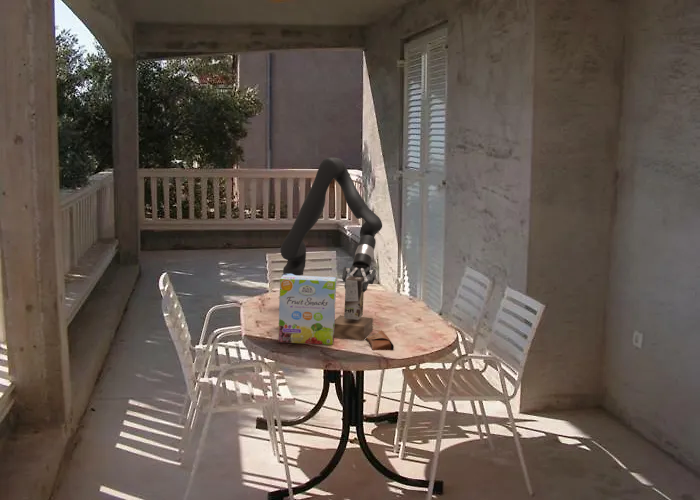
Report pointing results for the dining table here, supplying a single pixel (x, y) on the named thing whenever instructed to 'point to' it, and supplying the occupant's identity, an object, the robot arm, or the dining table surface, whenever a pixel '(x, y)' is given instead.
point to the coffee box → (354, 298)
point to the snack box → (307, 309)
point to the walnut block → (352, 328)
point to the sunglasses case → (380, 341)
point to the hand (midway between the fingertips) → (354, 290)
